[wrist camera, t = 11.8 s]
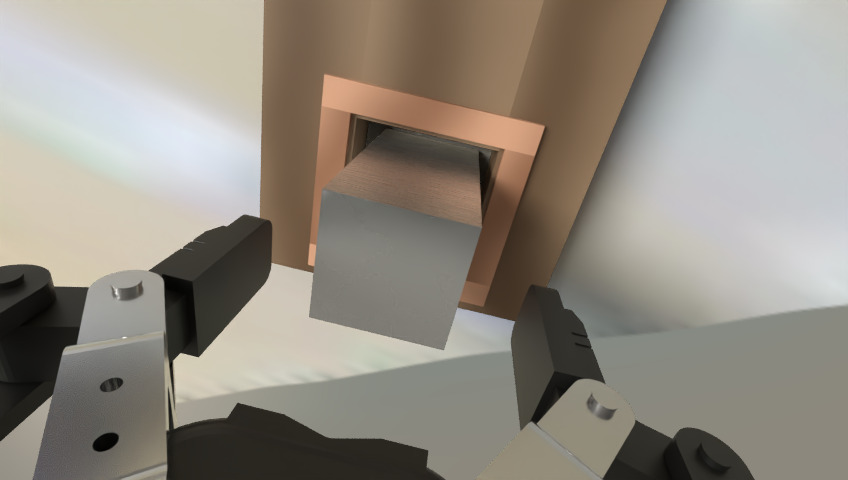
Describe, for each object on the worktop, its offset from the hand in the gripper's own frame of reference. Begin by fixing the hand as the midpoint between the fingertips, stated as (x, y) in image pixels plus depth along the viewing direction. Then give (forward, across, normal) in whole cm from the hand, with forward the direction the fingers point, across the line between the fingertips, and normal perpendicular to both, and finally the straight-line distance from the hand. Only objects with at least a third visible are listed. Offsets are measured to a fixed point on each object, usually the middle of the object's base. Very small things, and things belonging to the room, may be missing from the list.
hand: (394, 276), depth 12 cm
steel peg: (+9, 0, 0) cm, 9 cm away
